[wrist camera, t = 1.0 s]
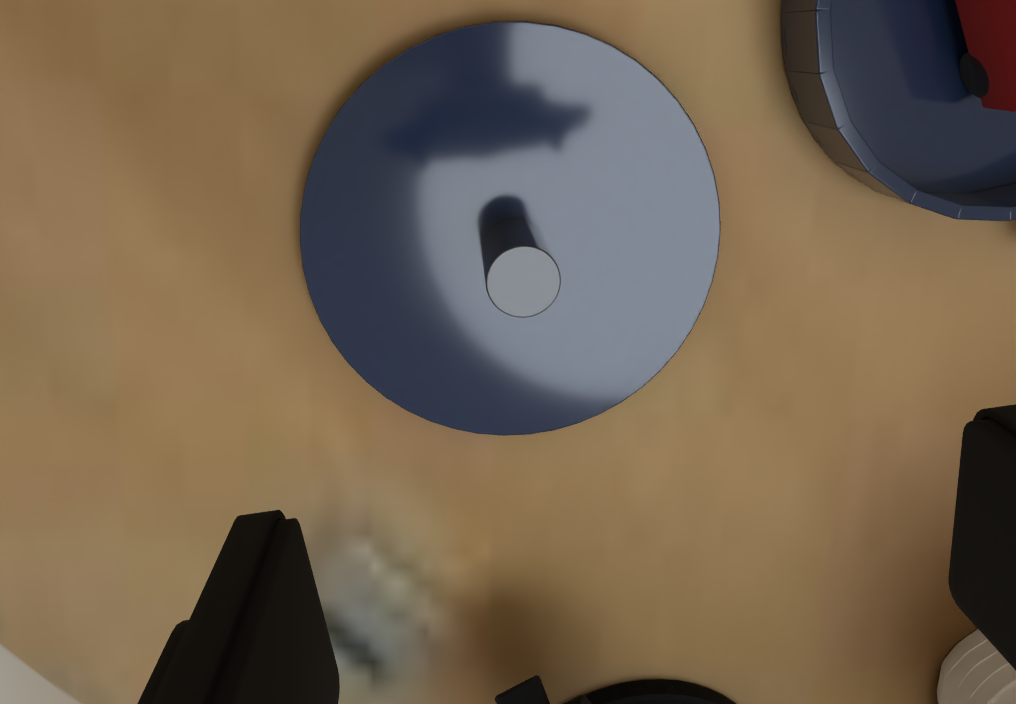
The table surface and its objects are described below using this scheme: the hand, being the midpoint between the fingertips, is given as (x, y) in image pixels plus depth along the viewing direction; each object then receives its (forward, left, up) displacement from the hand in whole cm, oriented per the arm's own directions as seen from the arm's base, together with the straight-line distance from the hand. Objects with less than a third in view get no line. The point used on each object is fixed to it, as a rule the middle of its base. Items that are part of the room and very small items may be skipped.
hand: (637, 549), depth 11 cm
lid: (+2, 0, -25) cm, 25 cm away
